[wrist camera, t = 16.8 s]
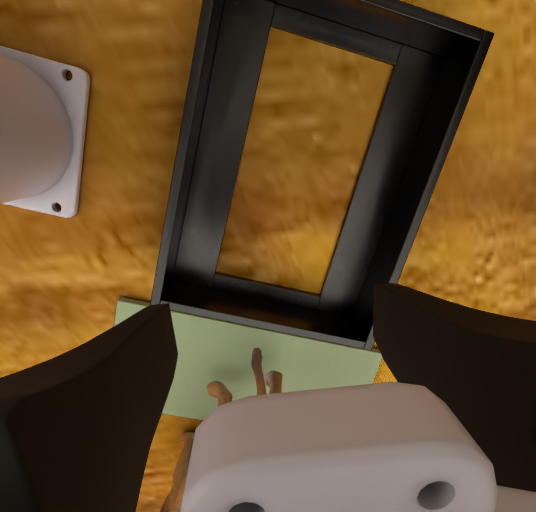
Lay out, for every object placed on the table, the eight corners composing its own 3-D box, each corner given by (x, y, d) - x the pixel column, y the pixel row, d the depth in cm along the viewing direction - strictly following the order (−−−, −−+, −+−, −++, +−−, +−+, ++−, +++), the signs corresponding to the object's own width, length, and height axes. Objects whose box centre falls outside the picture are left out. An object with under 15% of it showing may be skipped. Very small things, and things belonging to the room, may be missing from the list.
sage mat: (105, 398, 24) (102, 404, 24) (120, 296, 22) (117, 300, 21) (345, 437, 26) (348, 444, 26) (381, 349, 24) (384, 354, 24)
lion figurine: (234, 473, 28) (221, 634, 20) (169, 462, 27) (130, 625, 19) (296, 349, 21) (313, 524, 13) (211, 329, 20) (174, 502, 12)
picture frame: (164, 283, 22) (149, 306, 19) (219, -25, 17) (213, -64, 14) (354, 323, 23) (371, 350, 20) (454, 52, 19) (495, 32, 16)
